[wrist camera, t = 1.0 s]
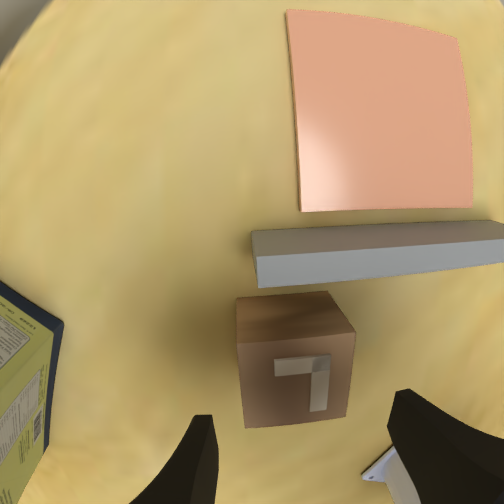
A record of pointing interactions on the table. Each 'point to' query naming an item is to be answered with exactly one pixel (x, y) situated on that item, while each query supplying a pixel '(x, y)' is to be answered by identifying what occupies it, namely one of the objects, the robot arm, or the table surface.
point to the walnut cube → (293, 358)
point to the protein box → (24, 388)
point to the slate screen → (372, 251)
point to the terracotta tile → (378, 114)
